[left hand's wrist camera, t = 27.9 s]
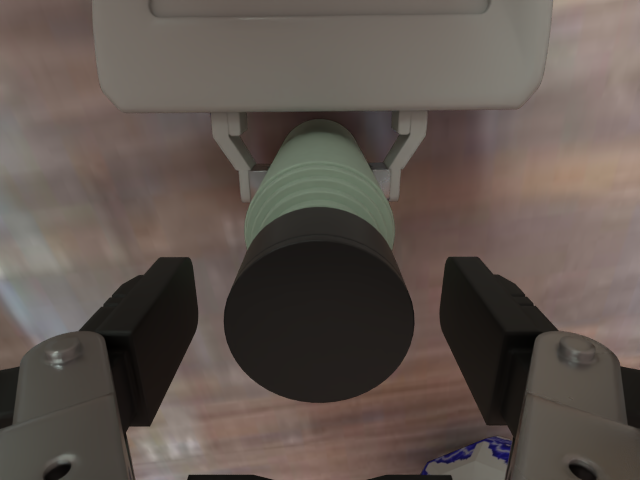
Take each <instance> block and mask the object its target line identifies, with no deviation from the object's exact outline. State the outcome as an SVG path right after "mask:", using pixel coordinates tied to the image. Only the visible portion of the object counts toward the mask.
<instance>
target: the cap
mask: <svg viewBox="0 0 640 480" xmlns="http://www.w3.org/2000/svg"><path fill="white" fill-rule="evenodd" d="M224 330H225V335H226V340H227V343H228V346H229V348H230V351H231V353H232V355H233V356H234V358H235V360H236V362H237V363H238V364H239V366H240V367H241V368H242V370H243V371H244V372H245V373H246V374H247V375H248V376H249V377H250V378H251V379H253V380H254V381H255V382H257V383H258V384H259V385H261V386H262V387H264V388H266V389H267V390H269V391H271V392H273V393H275V394H278V395H280V396H283V397H286V398H289V399H293V400H297V401H303V402H311V403H326V402H336V401H341V400H346V399H349V398H353V397H356V396H358V395H361V394H363V393H365V392H368V391H369V390H371V389H373V388H375V387H376V386H378V385H379V384H381V383H382V382H383V381H385V380H386V379H387V378H388V377H389V376H390V375H391V374H392V373H393V372H394V371H395V370H396V369H397V367H398V366H399V365H400V364H401V362H402V360H403V359H404V357H405V356H406V354H407V351H408V349H409V347H410V344H411V341H412V337H413V332H414V310H413V305H412V301H411V298H410V295H409V293H408V290H407V288H406V285H405V283H404V280H403V278H402V275H401V273H400V270H399V268H398V265H397V263H396V260H395V258H394V255H393V253H392V250H391V249H390V247H389V245H388V243H387V241H386V240H385V239H384V237H383V236H382V235H381V233H380V232H379V231H378V230H377V229H376V228H375V227H373V226H372V225H371V224H370V223H368V222H367V221H366V220H364V219H362V218H360V217H359V216H357V215H355V214H352V213H350V212H347V211H344V210H340V209H336V208H329V207H309V208H302V209H298V210H294V211H291V212H289V213H286V214H284V215H282V216H280V217H278V218H276V219H274V220H273V221H272V222H270V223H269V224H268V225H266V226H265V227H264V228H263V229H262V230H261V231H260V232H259V233H258V234H257V236H256V237H255V238H254V239H253V241H252V243H251V244H250V246H249V248H248V250H247V252H246V255H245V257H244V260H243V262H242V264H241V267H240V269H239V272H238V274H237V276H236V279H235V281H234V284H233V286H232V288H231V291H230V293H229V296H228V298H227V302H226V306H225V311H224Z"/></svg>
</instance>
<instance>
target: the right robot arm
mask: <svg viewBox="0 0 640 480" xmlns="http://www.w3.org/2000/svg"><path fill="white" fill-rule="evenodd" d="M552 7H553V0H92V21H93V35H94V46H95V56H96V64H97V72H98V78H99V83H100V87H101V90H102V92H103V93H104V94H105V96H106V97H107V98H108V99H109V100H110V101H111V102H112V103H113V104H114V105H115V106H116V107H117V108H118V109H119V110H120V111H121V112H123V113H203V112H210V115H211V125H212V134H213V138H214V139H215V141H216V142H217V144H218V145H219V147H220V148H221V150H222V151H223V152H224V154H225V155H226V157H227V158H228V160H229V161H230V163H231V164H232V165H233V167H234V168H235V170H237V171H239V182H240V194H241V200H242V202H245V203H251V201H252V199H253V197H254V195H255V193H256V192H257V190H258V188H259V186H260V184H261V182H262V181H263V179H264V177H265V175H266V173H267V171H268V170H269V168H270V166H271V164H256V162H255V160H254V159H253V157H252V156H251V154H250V152H249V151H248V149H247V147H246V146H245V144H244V143H243V141H242V139H241V138H240V135H241V134H242V133H243V132H245V131H246V130H247V129H248V127H247V112H308V111H392V124H391V128H392V129H393V130H395V131H396V132H397V133H399V134H400V135H399V136H398V138H397V140H396V141H395V143H394V145H393V146H392V148H391V150H390V151H389V153H388V155H387V156H386V158H385V160H384V161H383V162H384V163H369V167H370V168H371V170H372V172H373V174H374V176H375V178H376V180H377V182H378V184H379V185H380V187H381V189H382V191H383V193H384V195H385V197H386V199H387V200H388V201H398V199H399V192H400V176H401V169H404V167H405V166H406V164H407V163H408V161H409V160H410V158H411V157H412V155H413V154H414V152H415V151H416V150H417V148H418V147H419V145H420V144H421V142H422V141H423V139H424V138H425V136H426V130H427V119H428V110H512V109H519V108H520V107H522V106H523V105H524V104H525V103H526V102H527V101H528V99H529V98H530V97H531V96H532V95H533V94H534V92H535V91H536V90H537V89H538V87H539V86H540V84H541V81H542V78H543V74H544V69H545V64H546V58H547V51H548V44H549V37H550V28H551V19H552Z"/></svg>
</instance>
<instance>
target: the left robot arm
mask: <svg viewBox="0 0 640 480" xmlns="http://www.w3.org/2000/svg"><path fill="white" fill-rule="evenodd" d="M103 305H104V306H103V307H101V308H100V309H99V310H98V311H97V312H96V313H95V314H94V315H93V316H92V317H91V318H90V319H89V320H88V321H87V322H86V324H85V325H84V326H83V327H82V328H81V329H80V330H79V331H76V332H70V333H65V334H61V335H58V336H55V337H52V338H50V339H47V340H45V341H43V342H41V343H40V344H38V345H36V346H35V347H33V348H32V349H31V350H29V351H28V352H27V353H26V354H25V355H24V357H23V358H22V360H21V363H20V367H15V368H11V369H5V370H0V480H135V475H134V470H133V464H132V459H131V454H130V449H129V444H128V440H127V435H126V431H127V430H128V428H129V426H150V425H151V423H152V421H153V419H154V417H155V415H156V413H157V411H158V409H159V407H160V405H161V403H162V400H163V398H164V396H165V394H166V392H167V390H168V388H169V386H170V384H171V382H172V380H173V378H174V376H175V374H176V371H177V369H178V367H179V365H180V363H181V361H182V359H183V357H184V355H185V353H186V351H187V349H188V347H189V345H190V342H191V340H192V338H193V336H194V334H195V332H196V329H197V324H198V304H197V296H196V288H195V280H194V272H193V265H192V262H191V259H190V258H189V257H160V258H159V259H158V260H157V261H156V262H155V263H154V264H153V265H152V266H151V268H150V269H149V270H148V271H147V272H146V273H145V274H144V275H138V276H137V277H135V278H133V279H131V280H129V281H128V282H126V283H124V284H122V285H121V286H120V287H119V288H118V289H117V291H116V292H115V293H114V294H113V295H112V298H109V299H108V300H107V301H106V302H105V303H104V304H103ZM440 324H441V329H442V332H443V334H444V336H445V338H446V340H447V342H448V345H449V347H450V349H451V351H452V353H453V355H454V357H455V359H456V361H457V364H458V366H459V368H460V370H461V372H462V374H463V376H464V378H465V380H466V382H467V385H468V387H469V389H470V391H471V393H472V395H473V397H474V399H475V401H476V403H477V406H478V408H479V410H480V412H481V414H482V416H483V418H484V420H485V422H486V425H508V427H509V429H510V431H511V433H512V435H513V440H512V444H511V449H510V454H509V459H508V464H507V470H506V475H505V480H640V370H637V369H631V368H626V367H621V366H620V363H619V360H618V358H617V357H616V355H615V354H614V353H613V352H612V351H611V350H609V349H608V348H607V347H605V346H604V345H602V344H600V343H599V342H597V341H595V340H593V339H590V338H588V337H585V336H582V335H579V334H575V333H570V332H564V331H558V330H557V328H556V327H555V326H554V325H553V324H552V323H551V322H550V321H549V320H548V319H547V318H546V317H545V316H544V314H543V313H542V312H541V311H540V310H539V309H538V308H537V307H536V306H534V305H533V303H532V302H531V300H530V299H529V298H528V297H525V294H524V293H523V292H522V291H521V290H520V289H519V288H518V287H517V285H516V284H514V283H513V282H511V281H509V280H507V279H505V278H504V277H502V276H500V275H493V274H492V272H491V271H490V270H489V269H488V268H487V267H486V265H485V264H484V263H483V262H482V261H481V260H480V258H478V257H448V258H447V260H446V264H445V270H444V278H443V286H442V294H441V302H440ZM187 480H272V479H268V478H264V477H260V476H256V475H189V476H188V479H187ZM368 480H453V479H452V476H451V475H384V476H380V477H376V478H372V479H368Z"/></svg>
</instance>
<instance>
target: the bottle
mask: <svg viewBox="0 0 640 480" xmlns="http://www.w3.org/2000/svg"><path fill="white" fill-rule="evenodd" d="M309 207H329V208H336V209H340V210H344V211H347V212H350V213H352V214H355V215H357V216H359V217H360V218H362V219H364V220H366V221H367V222H368V223H370V224H371V225H372V226H373V227H375V228H376V229H377V230H378V231H379V232H380V233H381V235H382V236H383V237H384V239H385V240H386V241H387V243H388V245H389V247H390V249H391V250H392V249H393V244H394V238H395V224H394V218H393V213H392V210H391V207H390V205H389V202H388V200H387V199H386V197H385V195H384V193H383V191H382V189H381V187H380V185H379V184H378V182H377V180H376V178H375V176H374V174H373V172H372V170H371V168H370V167H369V165H368V163H367V161H366V159H365V157H364V155H363V153H362V152H361V150H360V148H359V146H358V144H357V142H356V140H355V139H354V137H353V136H352V134H351V133H350V132H349V131H348V130H347V129H346V128H345V127H343V126H342V125H340V124H338V123H336V122H334V121H330V120H326V119H314V120H309V121H306V122H304V123H302V124H300V125H298V126H297V127H295V128H294V129H293V130H292V131H291V132H290V133H289V134H288V136H287V137H286V138H285V140H284V142H283V144H282V146H281V148H280V149H279V151H278V153H277V155H276V157H275V159H274V160H273V162H272V164H271V166H270V168H269V170H268V171H267V173H266V175H265V177H264V179H263V181H262V182H261V184H260V186H259V188H258V190H257V192H256V193H255V195H254V197H253V199H252V201H251V203H250V205H249V208H248V211H247V214H246V219H245V227H244V235H245V243H246V248H247V250H248V248H249V246H250V244H251V243H252V241H253V239H254V238H255V237H256V236H257V234H258V233H259V232H260V231H261V230H262V229H263V228H264V227H265V226H266V225H268V224H269V223H270V222H272V221H273V220H274V219H276V218H278V217H280V216H282V215H284V214H286V213H289V212H291V211H294V210H298V209H302V208H309Z"/></svg>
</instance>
